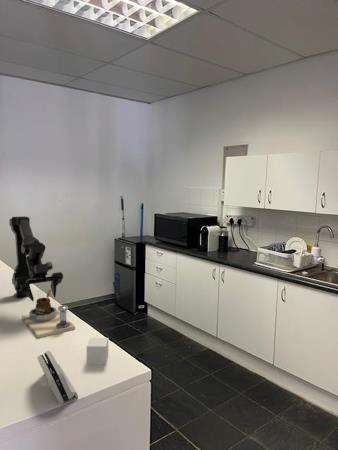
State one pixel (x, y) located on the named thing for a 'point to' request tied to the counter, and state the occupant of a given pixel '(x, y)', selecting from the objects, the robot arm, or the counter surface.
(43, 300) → the utensil holder
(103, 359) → the grey cube
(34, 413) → the counter surface
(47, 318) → the wooden stand with ring
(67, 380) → the grey electronic device
